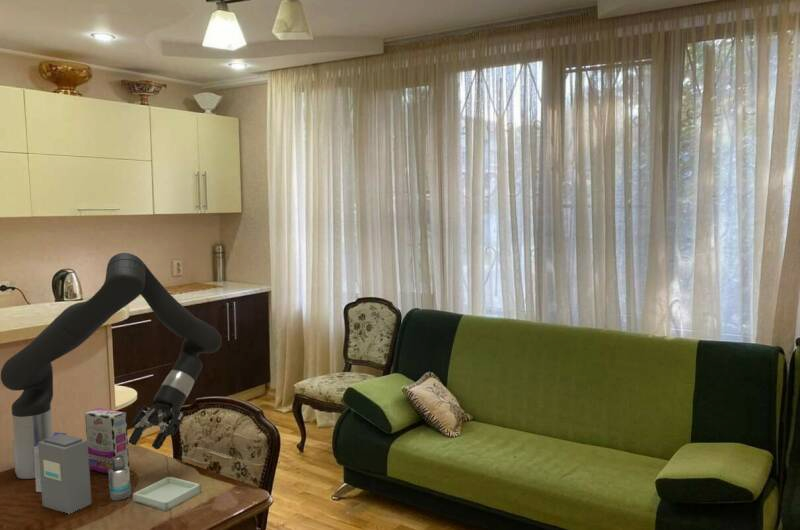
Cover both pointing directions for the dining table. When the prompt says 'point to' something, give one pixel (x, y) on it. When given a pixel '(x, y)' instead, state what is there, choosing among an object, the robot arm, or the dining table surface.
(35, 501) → the dining table surface
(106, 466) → the candy bar box
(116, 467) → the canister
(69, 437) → the gray storage container
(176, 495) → the tray
